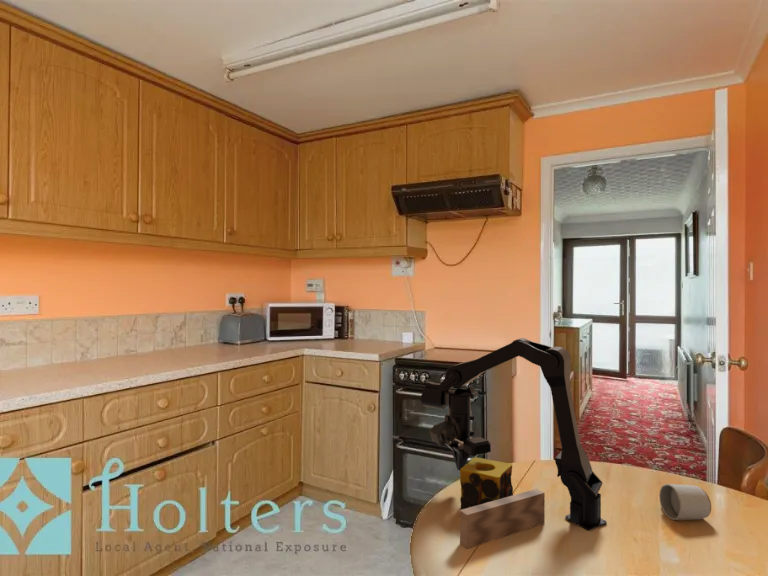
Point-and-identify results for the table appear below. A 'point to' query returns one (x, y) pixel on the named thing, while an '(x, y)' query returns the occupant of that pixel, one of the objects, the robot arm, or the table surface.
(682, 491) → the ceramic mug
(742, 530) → the table surface
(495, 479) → the spotted yellow cube
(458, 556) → the table surface
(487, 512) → the brown wooden board
